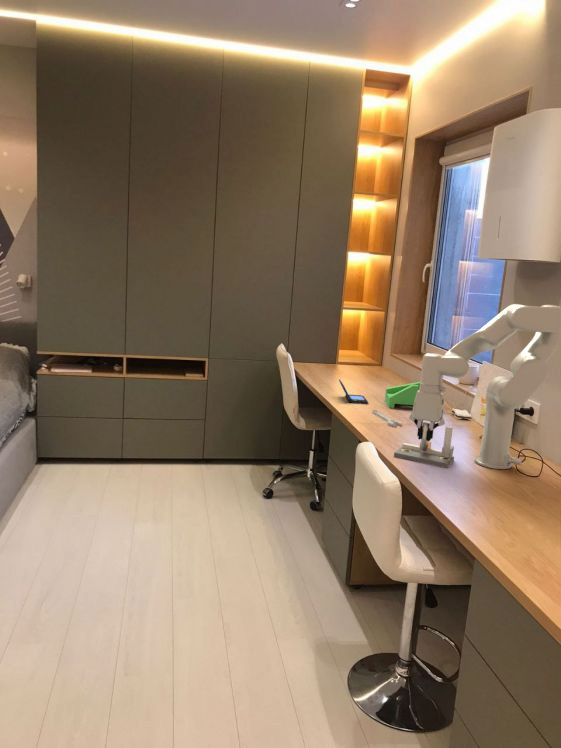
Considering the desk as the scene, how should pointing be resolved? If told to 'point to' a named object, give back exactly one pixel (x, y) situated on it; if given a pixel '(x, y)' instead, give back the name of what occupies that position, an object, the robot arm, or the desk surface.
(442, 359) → the robot arm
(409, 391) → the ramp block with notch
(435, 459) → the board
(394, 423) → the adjustable wrench
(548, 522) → the desk surface
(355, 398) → the handheld game console
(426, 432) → the post
